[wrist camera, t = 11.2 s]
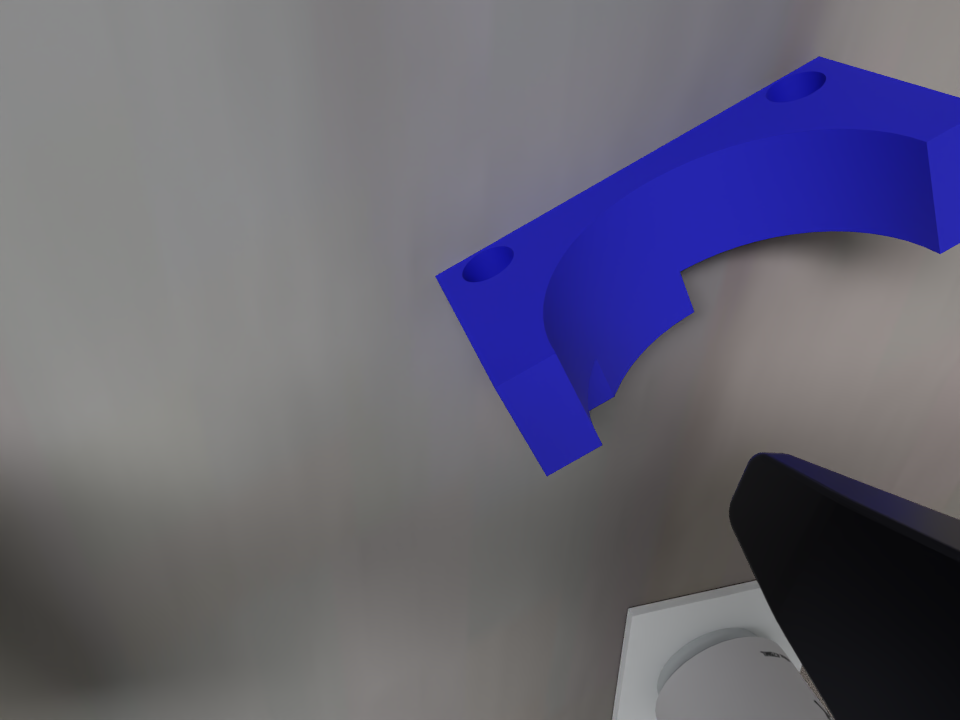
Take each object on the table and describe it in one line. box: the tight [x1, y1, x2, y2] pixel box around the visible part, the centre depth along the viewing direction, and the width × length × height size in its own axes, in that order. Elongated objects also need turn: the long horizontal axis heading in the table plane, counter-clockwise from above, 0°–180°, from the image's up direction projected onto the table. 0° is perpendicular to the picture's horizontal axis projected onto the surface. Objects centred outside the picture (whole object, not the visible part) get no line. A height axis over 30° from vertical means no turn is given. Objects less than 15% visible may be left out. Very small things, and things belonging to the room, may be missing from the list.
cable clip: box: [436, 57, 960, 476], centre depth 21 cm, size 12×4×6 cm, turn 115°
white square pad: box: [612, 580, 802, 720], centre depth 35 cm, size 9×9×1 cm
